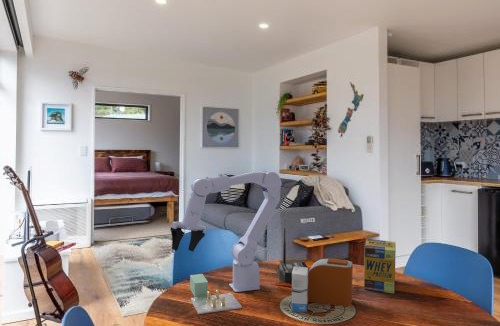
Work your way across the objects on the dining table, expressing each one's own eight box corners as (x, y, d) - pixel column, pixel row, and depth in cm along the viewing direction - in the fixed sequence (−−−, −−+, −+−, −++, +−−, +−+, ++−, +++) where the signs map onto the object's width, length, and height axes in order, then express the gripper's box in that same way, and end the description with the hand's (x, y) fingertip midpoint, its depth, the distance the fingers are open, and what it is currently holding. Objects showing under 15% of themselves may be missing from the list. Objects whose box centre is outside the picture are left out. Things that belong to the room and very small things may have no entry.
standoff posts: (218, 296, 125) (218, 289, 125) (225, 305, 117) (225, 298, 117) (206, 298, 123) (206, 291, 123) (212, 307, 116) (212, 300, 116)
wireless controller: (316, 282, 141) (316, 237, 141) (280, 282, 141) (280, 238, 140) (306, 266, 161) (306, 227, 161) (274, 266, 161) (274, 227, 160)
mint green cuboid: (202, 287, 136) (202, 273, 135) (207, 296, 127) (208, 281, 127) (190, 288, 134) (190, 275, 134) (194, 297, 126) (194, 283, 125)
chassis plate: (230, 294, 128) (230, 292, 128) (241, 308, 117) (241, 306, 117) (190, 299, 124) (190, 297, 124) (198, 314, 112) (198, 312, 112)
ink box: (307, 313, 114) (307, 275, 114) (291, 311, 115) (291, 274, 115) (308, 302, 122) (308, 266, 122) (293, 300, 123) (293, 265, 123)
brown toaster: (352, 298, 126) (353, 258, 126) (350, 307, 118) (351, 265, 118) (309, 292, 131) (309, 254, 131) (304, 301, 123) (305, 260, 123)
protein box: (363, 289, 134) (364, 247, 134) (367, 277, 148) (367, 238, 148) (394, 294, 130) (395, 250, 130) (395, 280, 144) (395, 241, 144)
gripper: (201, 211, 137) (190, 247, 136) (170, 206, 126) (159, 245, 125) (214, 216, 132) (203, 253, 132) (183, 211, 122) (171, 252, 121)
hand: (182, 250), depth 128 cm, fingers open, 7 cm apart
